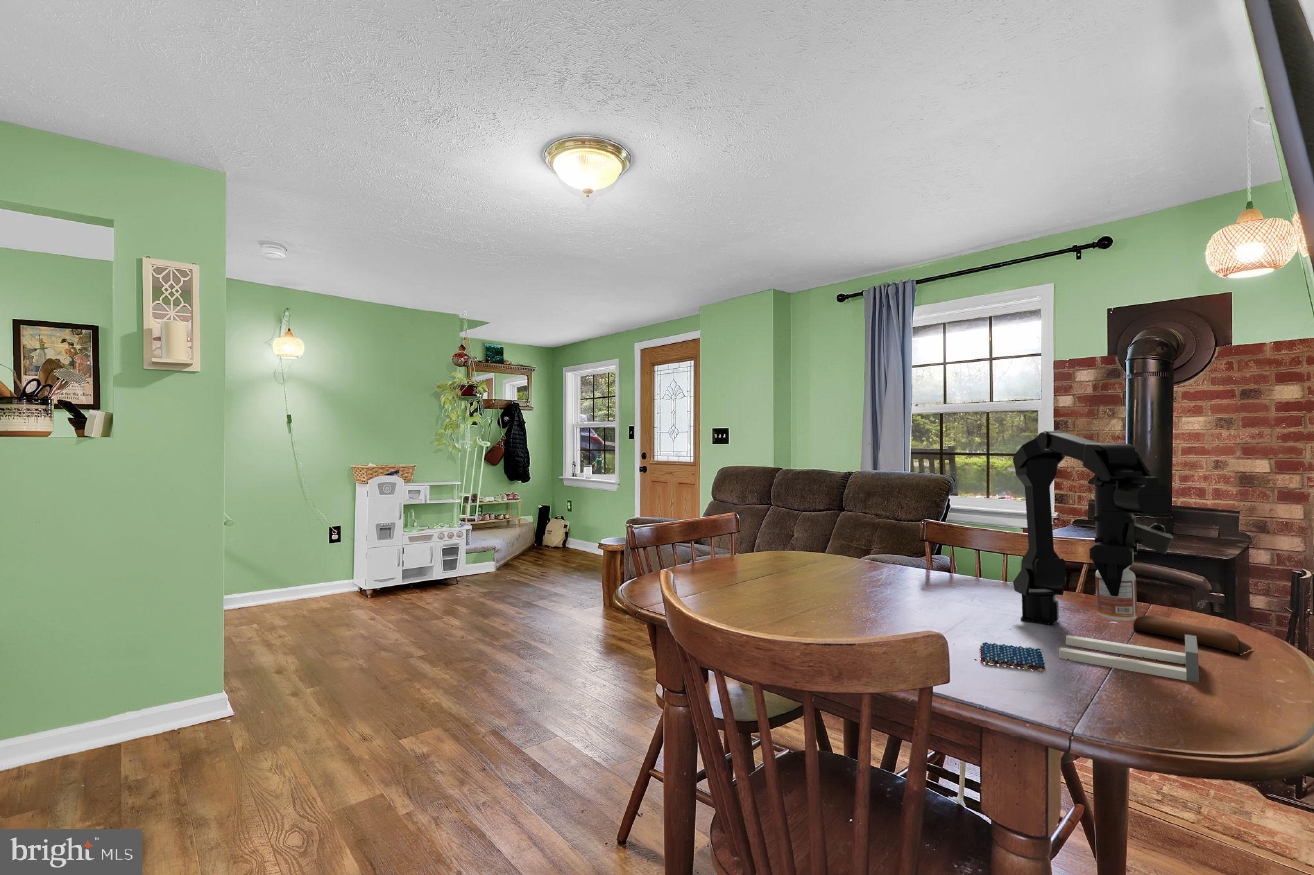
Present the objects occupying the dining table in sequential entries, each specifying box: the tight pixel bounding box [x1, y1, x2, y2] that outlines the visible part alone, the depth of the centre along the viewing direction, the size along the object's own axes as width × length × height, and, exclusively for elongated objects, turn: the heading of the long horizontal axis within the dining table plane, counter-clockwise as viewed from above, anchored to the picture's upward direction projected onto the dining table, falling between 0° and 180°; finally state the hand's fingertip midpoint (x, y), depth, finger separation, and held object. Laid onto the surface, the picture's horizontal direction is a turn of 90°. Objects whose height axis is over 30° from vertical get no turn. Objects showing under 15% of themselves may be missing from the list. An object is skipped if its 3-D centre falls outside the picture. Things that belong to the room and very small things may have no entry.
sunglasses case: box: [1132, 615, 1253, 655], centre depth 125 cm, size 18×7×7 cm
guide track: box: [1058, 634, 1200, 684], centre depth 115 cm, size 20×12×5 cm, turn 50°
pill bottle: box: [1094, 565, 1138, 622], centre depth 116 cm, size 6×6×11 cm
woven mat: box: [979, 641, 1046, 673], centre depth 117 cm, size 10×11×2 cm
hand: (1116, 592), depth 116 cm, fingers closed on pill bottle, 6 cm apart
